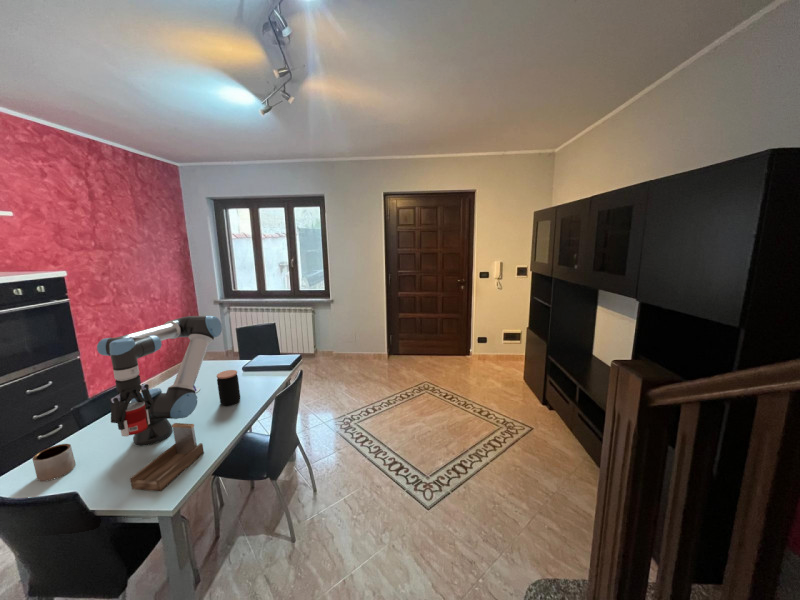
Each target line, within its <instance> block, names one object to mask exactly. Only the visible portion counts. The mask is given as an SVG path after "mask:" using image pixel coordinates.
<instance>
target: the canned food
mask: <svg viewBox="0 0 800 600" xmlns="http://www.w3.org/2000/svg"><path fill="white" fill-rule="evenodd" d="M124 420H127V425H128V431H129V436H134V435H135V434H138V433H140V432H142V431H144V430H146V429H147V428H148V419H147V412H146V406H145V402H144V401H143V402H137V401H135V402H131V401H130V403H129V404H128V407H127V410H126V415H125V419H124Z"/></svg>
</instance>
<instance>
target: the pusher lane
mask: <svg viewBox="0 0 800 600" xmlns="http://www.w3.org/2000/svg"><path fill="white" fill-rule="evenodd" d="M203 454H205V451H204V445H203V443H201V442H200V443H198V444H197V446H196V447H195V448H194V449H193V450H192V451H190V452H189V453H188V454H178V453H177V450H176V444H175V443H174V444H173V445H171V446H170V447H169V448H166V450H165V451H164V452H162V453H161V454H159V456H157V457H156V458H154V459H153V460H152V461H150V462H149V463H148V464H147V465H145V466H143V468H140V470H139V471H137V472H136V473H135V474H133V475H132V476H131V477H130V479H129V480H130V485H131V489H132V490H139V491H151V492H160V493H161V492H163V491H164V490H165V489H166V488H167V487H168V486H169V485H170V484H172V483H173V481H175V480H176V479H177V478H178V477H179V476H180V475H181V474H183V473H184V471H186V470H187V469H188V468H189V467H191V465H193V464H194V463H195V461H197V460H198V459H199V458H200V457H202V456H203Z"/></svg>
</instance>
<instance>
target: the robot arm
mask: <svg viewBox="0 0 800 600" xmlns="http://www.w3.org/2000/svg"><path fill="white" fill-rule="evenodd" d="M222 330H223V326H222V323H221V319H220V318H219V317H217V316H216V315H215V316H214V315H188V316H183V317H179V318H175V319H172V320H168V321H166V322H165V323H164V324H160V325H157V326H154V327H150V328H146V329H143V330H139V331H135V332H132V333H127V334H125V335H121V336H117V337H106V338H102V339H100V340H99V341H98V343H97V345H96V350H97V354H99V355H101V356H109V357H110V360H111V364H112V373H113V378H114V380H115V381H114V383H115V388H116V390H117V395H115V396H114V397H109V402H110V423H111V424H117V427H118V428H117V429H118V430H119V431H120V433H121V437H127V438H128V437H129V436H130V435H129V431H128V425H127V420H124V419H125V415H126V410H127V407H128V404H129V403H131V402H135V401H137V402H143V401H144V402H145V406H146V412H147V419H148V428H147V429H146V430H144V431H142V432H140V433H138V434H134V435H133V439H132V442H133V444H134V446H137V447H145V446H146V447H147V446H150V445H154V444H158V443H159V442H162V441H163V440H166V439H167V438H168V437H170V436H171V435H172V434H173V433H174V432H173V427H172V425H173V424H171V422H170V421H169V420H171V419H174V420H178V419H186V418H187V417H189V416H190V415H192V413H193V412H194V411H195V410H196V408H197V405H198V400H199V399H198V395H197V394H196V393H195V390H194V388H193V387H194V386H195V384H196V381H197V378H198V376H199V373H200V369H201V367H202V364H203V360H204V358H205V357H206V352H207V349H208V347H209V345H210V344H212V343H213V341H214V339H215V338H217V337H219V336H220V335H221V334H222ZM177 338H188V339H189V343H188V346H187V348H186V351H185V354H184V355H183V358H182V361H181V364H180V365H179V369H178V372H177V374H176V377H175V379H174V382H173V384H172V385H169V386H168V387H167V390H166V392H163V390H162V389H161V388H158V387H156V388H151V389H149V388H150V387H149V386H150V385H149V384H148V383H147V384H145V383H142V381H141V375H139V374H140V369H139V361H138V360H139V359H140V358H141V359H142V358H143V357H145V356H148V355H151V354H154V353H155V352H157V351H159V350H160V349H162V345H163V344H162V343H163V342H162V341H165V340H168V339H173V340H174V339H177ZM168 419H169V420H168Z"/></svg>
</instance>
